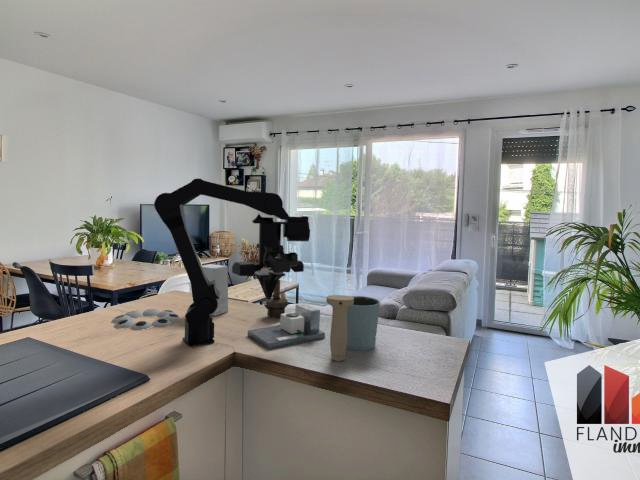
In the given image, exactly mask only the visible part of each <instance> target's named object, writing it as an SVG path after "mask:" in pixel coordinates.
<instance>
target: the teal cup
mask: <svg viewBox="0 0 640 480" xmlns="http://www.w3.org/2000/svg"><path fill="white" fill-rule="evenodd" d="M352 297H354V303H353V304H352V305H351V306H349V307H347V345H346V349H350V350H353V351H370V350H373V349H375V346H376V343H377V341H376V340H377V337H376V336H377V332H378V323H379V322H378V321H379V313H380V309H381V307H380V306H381V301H380V300H379V299H377V298H374V297H370V296H362V295H354V296H352Z"/></svg>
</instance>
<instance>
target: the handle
mask: <svg viewBox="0 0 640 480" xmlns="http://www.w3.org/2000/svg"><path fill="white" fill-rule="evenodd" d="M326 303H327V304H328V305H330V306H331V307H332V316H331V324H330V333H329V335H330V336H329V337H330V338H329V346H330V358H331V360H332V361H335V362H337V363H338V362H342V361H344V360H345V357H346V356H345V355H346V354H345V353H346V351H347V347H346V345H347V307H349V306H351V305H352V304H353V303H354V297H352V296H351V295H340V294H332V295H327V296H326Z"/></svg>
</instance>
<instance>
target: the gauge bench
mask: <svg viewBox="0 0 640 480" xmlns="http://www.w3.org/2000/svg"><path fill="white" fill-rule="evenodd" d="M294 313H296V314H299V315H300V316H303V317H304V332H303V334H301V333H294V334H291V333H289V332H287V331H285V330H283V329H281V328H280V324H277V325H276V324H275V325H273V326H272V325H271V326H266V327H260V328H254V329H249V330H247V336H248V337H249V338H250V339H252V340H254V341H255V342H257V343H258V344H260V345H261V346H263V347H265V348H266V349H267V350H272V349H273V350H274V349H277V348H282V347H287V346H292V345H297V344H302V343H305V342H310V341H315V340H320V339H325V338H326V332H325V331H322V330H321V329H320V325H321V324H320V323H321V321H320V320H321V319H320V318H321V309H319V308H316V307H315V306H312V305H309V304H306V303H299V304H295V310H294Z"/></svg>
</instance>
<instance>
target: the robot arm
mask: <svg viewBox="0 0 640 480" xmlns="http://www.w3.org/2000/svg"><path fill="white" fill-rule="evenodd" d="M200 196H206V197H210V198H214V199H218V200H222V201H226V202H231V203H236V204H240V205H244V206H246V207H249V208H251V209H253V210H256V211H259V212H260V213H262V214H265V215H268V216H274V217H276V218H277V219H279V220H282V221H274V217H267V216H264V217H263V216H261V215H260V214H259V213H258V214H257V215H256V217H255V218H253V219H252V220H251V222H252V223H253V224H258V225H259V228H258V230H259V231H258V236H259V237H258V243H256V248H258V258H256V260H255V263H253V262H249V261H235V262H233V264H232V266H231V273H232V274H234V275H237V276H240V277H247V276H248V277H249V276H255V277H256V279H257V280H258V282H259V284H260V286H261V289H262V292H263V294H264V296H265V300H266V299H271V298H272V297H273V291H274V289H275V286H276V284H277V282H278V280H280V279H282V277H285V276H286V273H290V272H291V271H292V272H294V273H301V272H305V269H304V268H305V267H304V266H305V265H304V263H303V261H302V260H300V259H299V258H298V253H296V252H288V253H285V252H284V245H282V243H281V242H282V241H281V240H282V238H286V241H287V242H309V241H310V235H311V229H310V222H309V216H305V215H302V216H289V213H288V212H287V211H286V209H285V208H284V202H283V200H282V197H281V196H280V195H279V194H277V193H274V192H266V191H265V192H261V191H247V190H244V189H238V188H237V187H236V188H235V187H231V186H227V185H223V184H219V183H215V182H212V181H208V180H204V179H202V178H194V179H192V180H191V181H190V182H188V183H187V184H184V185H183V186H181V187H178V188H177V189H176V190H174V191H172V192H162V193H160V194H159V195H158V196H156V198H155V199H154V203H153V205H154V209H155V211H156V213H157V215H158V216H159V218H160V220H161V221H162V222H163V223H164V225H165V226H166V227H167V229H168V230H169V231H170V234H171V236H172V239H173V241H174V244H175V246H176V247H175V248H176V249H177V251H178V254H179V256H180V259H181V262H182V265H183V266H184V269H185V273H186V274H187V277H188V279H189V282H190V287H191V288H190V289H191V295H192V301H193V302H192V303H191V304H190V305H189V306H188V308H187V311H186V313H185V317H184V337H182V341H183V342H184V343H185V344H186V345H187V346H188V347H197V346H201V345H203V346H204V345H208V344H214V343H215V323H214V322H213V317H212V315H211V314H212V313H214V312H215V311H216V309H217V307H218V301H219V297H220V292H219V291H218V289H217V287H216V283H215V280H212V281H211V282H210V281H209V280H208V278H207V277H206V276H205V273H204V271H203V268H202V266H203V265H202V263H201V261H200V259H199V256H198V254H197V253H198V252H197V251H196V248H195V246H194V245H195V244H194V243H193V240H192V238H191V235H190V232H189V230H188V228H187V223H186V216H185V215H186V214H185V209H184V206H185V205H187V204H188V203H190V202H191V201H193V200H195V199H196V198H197V197H200Z"/></svg>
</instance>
